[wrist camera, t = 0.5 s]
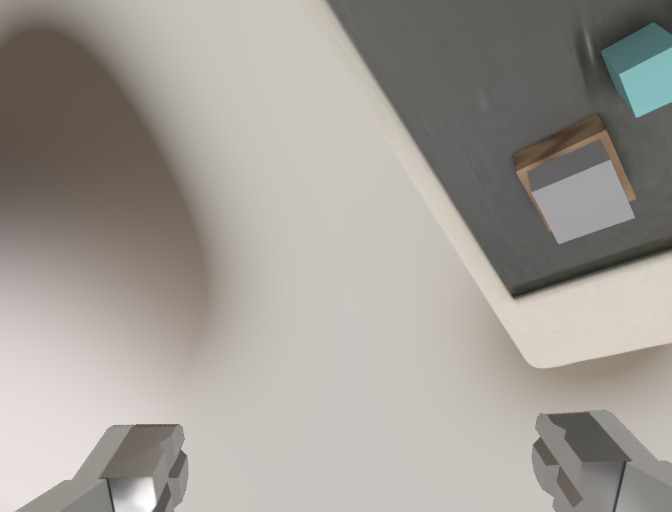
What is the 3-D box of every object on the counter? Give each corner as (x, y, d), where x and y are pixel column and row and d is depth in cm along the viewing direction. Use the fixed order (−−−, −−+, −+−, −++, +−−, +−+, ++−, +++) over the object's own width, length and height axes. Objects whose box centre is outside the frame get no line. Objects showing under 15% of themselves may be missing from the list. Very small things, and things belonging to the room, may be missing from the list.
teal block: (653, 22, 45) (681, 42, 39) (668, 64, 47) (697, 89, 41) (600, 51, 48) (618, 74, 42) (616, 90, 50) (636, 118, 44)
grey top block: (599, 138, 49) (610, 159, 45) (623, 194, 52) (635, 217, 48) (527, 171, 53) (531, 192, 49) (552, 220, 56) (558, 244, 53)
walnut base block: (596, 112, 52) (606, 129, 48) (625, 178, 56) (636, 198, 52) (512, 153, 57) (515, 171, 53) (544, 210, 61) (549, 231, 57)
